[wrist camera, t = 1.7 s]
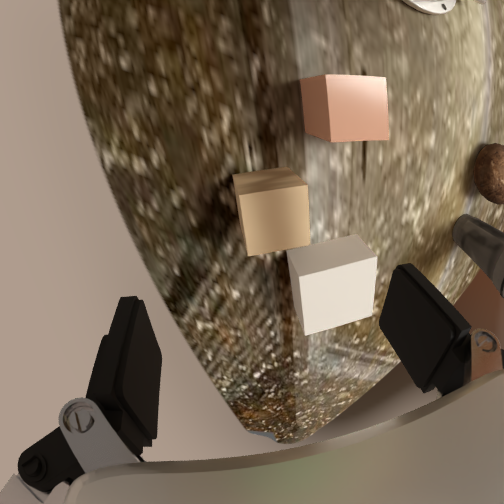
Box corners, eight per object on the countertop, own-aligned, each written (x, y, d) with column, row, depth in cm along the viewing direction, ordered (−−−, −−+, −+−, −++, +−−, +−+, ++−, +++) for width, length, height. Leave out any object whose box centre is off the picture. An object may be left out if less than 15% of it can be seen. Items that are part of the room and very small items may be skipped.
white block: (355, 233, 30) (377, 256, 26) (354, 289, 34) (371, 315, 30) (285, 249, 30) (298, 276, 26) (293, 306, 34) (305, 335, 30)
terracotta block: (350, 79, 22) (385, 77, 16) (354, 129, 24) (388, 139, 19) (299, 79, 21) (325, 74, 16) (305, 132, 24) (331, 142, 19)
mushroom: (516, 192, 27) (534, 194, 21) (477, 209, 31) (491, 214, 25) (498, 139, 26) (513, 134, 21) (458, 156, 30) (469, 152, 25)
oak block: (286, 166, 25) (307, 184, 20) (290, 216, 28) (310, 244, 23) (232, 174, 25) (238, 195, 20) (240, 224, 28) (248, 256, 22)
